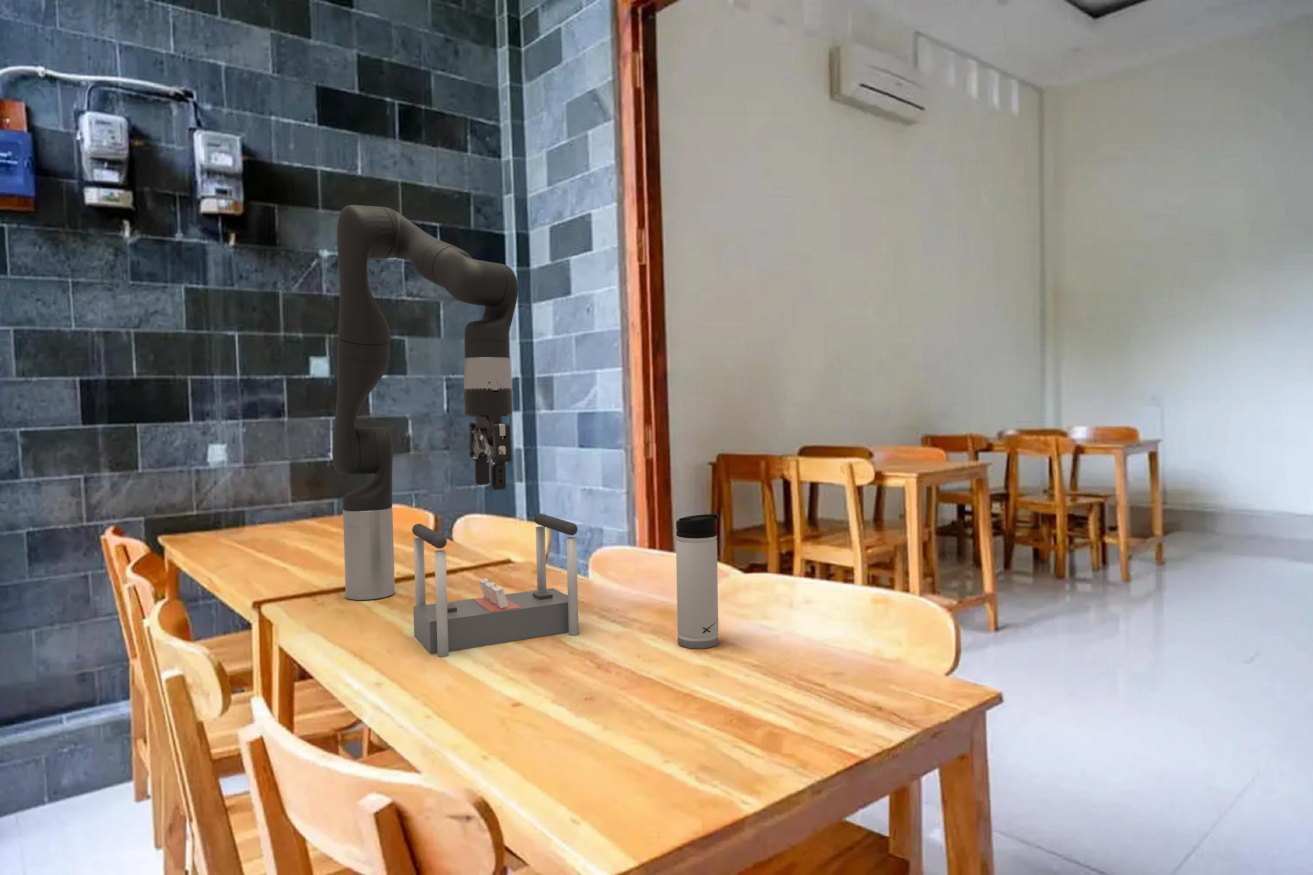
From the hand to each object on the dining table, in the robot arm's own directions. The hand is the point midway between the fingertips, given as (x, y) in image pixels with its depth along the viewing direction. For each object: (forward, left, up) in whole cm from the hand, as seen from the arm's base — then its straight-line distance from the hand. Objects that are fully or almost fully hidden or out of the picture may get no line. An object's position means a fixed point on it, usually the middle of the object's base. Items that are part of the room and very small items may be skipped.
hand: (490, 486), depth 132 cm
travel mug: (+23, +25, -24) cm, 42 cm away
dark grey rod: (+1, +11, -8) cm, 13 cm away
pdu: (+1, 0, -24) cm, 24 cm away
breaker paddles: (+1, 0, -19) cm, 19 cm away
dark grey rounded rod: (+1, -10, -8) cm, 13 cm away
